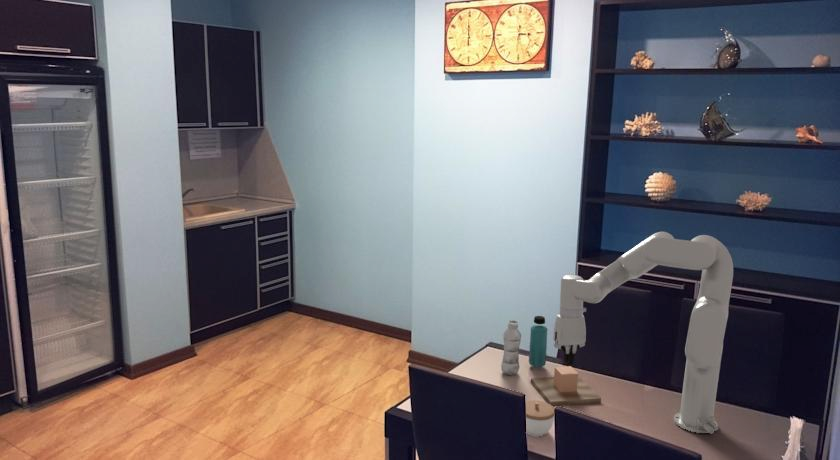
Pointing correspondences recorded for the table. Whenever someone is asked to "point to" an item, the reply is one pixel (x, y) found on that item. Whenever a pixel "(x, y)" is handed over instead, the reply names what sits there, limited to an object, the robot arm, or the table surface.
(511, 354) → the plastic bottle
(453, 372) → the table surface
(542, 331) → the beverage bottle
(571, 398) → the post board
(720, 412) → the table surface
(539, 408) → the lidded jar
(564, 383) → the natural wood cube
